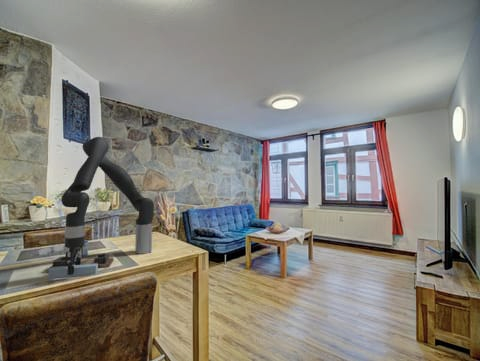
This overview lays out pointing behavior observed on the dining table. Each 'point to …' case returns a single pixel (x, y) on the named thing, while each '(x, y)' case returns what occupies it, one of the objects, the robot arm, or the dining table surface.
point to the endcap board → (86, 261)
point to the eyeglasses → (47, 250)
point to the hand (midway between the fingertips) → (74, 271)
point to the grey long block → (78, 270)
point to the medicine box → (85, 248)
